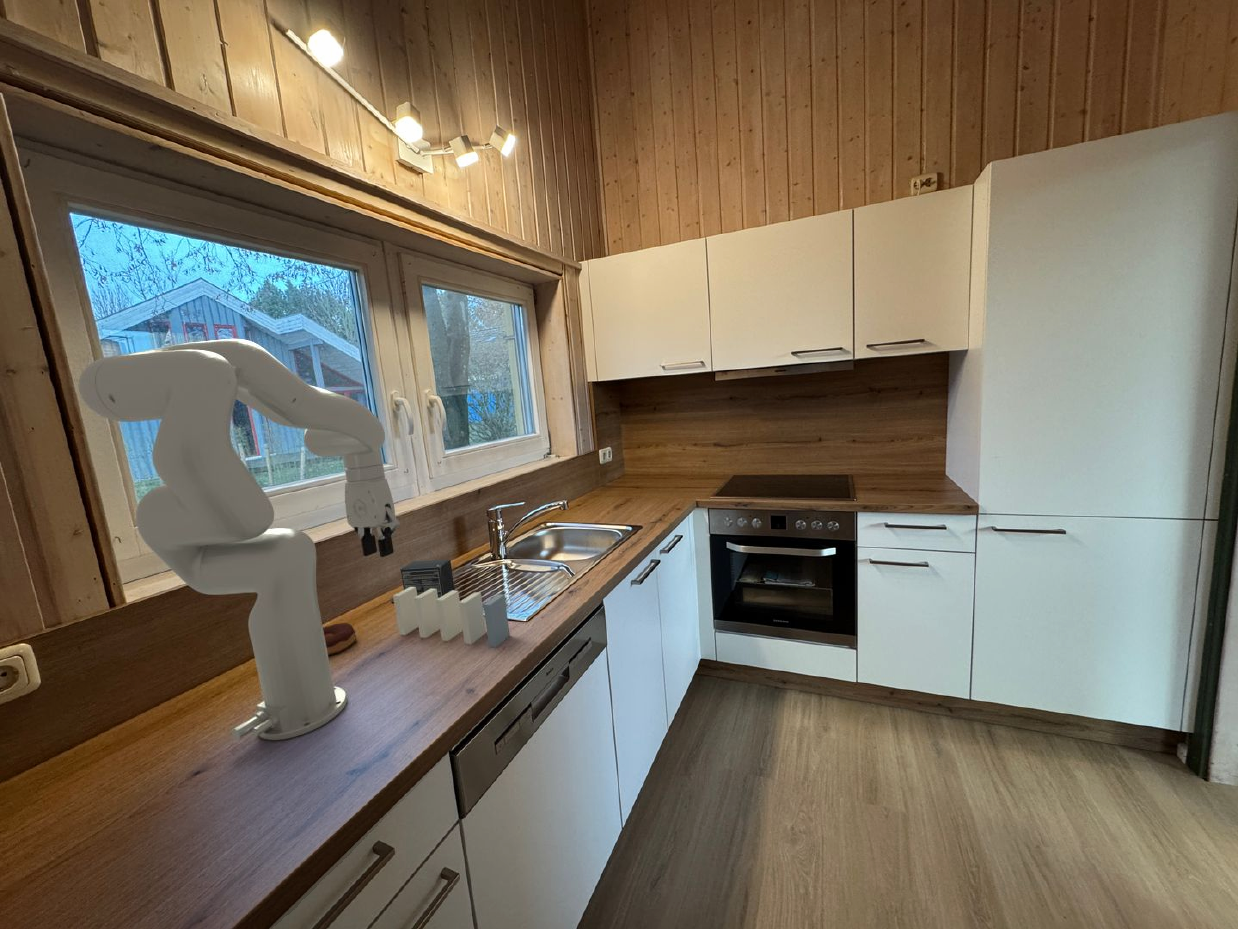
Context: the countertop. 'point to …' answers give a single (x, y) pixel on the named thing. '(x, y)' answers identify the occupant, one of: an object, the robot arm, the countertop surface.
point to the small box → (429, 576)
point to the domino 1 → (406, 610)
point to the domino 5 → (496, 620)
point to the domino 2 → (427, 612)
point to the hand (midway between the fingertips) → (378, 553)
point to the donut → (338, 637)
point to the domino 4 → (472, 618)
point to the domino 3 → (449, 615)
